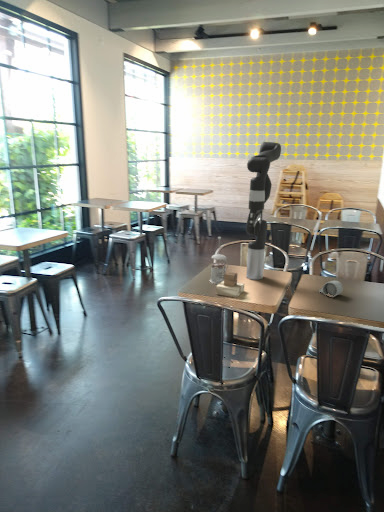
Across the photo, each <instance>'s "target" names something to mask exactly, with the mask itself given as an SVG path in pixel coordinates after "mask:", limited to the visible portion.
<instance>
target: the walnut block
mask: <svg viewBox="0 0 384 512" xmlns="http://www.w3.org/2000/svg"><path fill="white" fill-rule="evenodd" d="M237 282H238V273H237V272H235V271H228V270H227V272H226V271H225V274H224V286H230V287H234V286H235V285H237Z"/></svg>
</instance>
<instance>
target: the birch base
mask: <svg viewBox="0 0 384 512" xmlns="http://www.w3.org/2000/svg"><path fill="white" fill-rule="evenodd" d="M244 292H245V283H242V282H238V281H237V285H235V286H234V287H230V286H224V281H222V282H221V283H220V284H216V285H215V295H219V296H225V297H229V298H230V297H231V298H238V297H239V296H240V295H241V294H243V293H244Z"/></svg>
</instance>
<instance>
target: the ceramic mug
mask: <svg viewBox="0 0 384 512" xmlns="http://www.w3.org/2000/svg"><path fill="white" fill-rule="evenodd" d="M343 289H344V287H343V284H342V282H340V280H339V281H338V280H330V281H328V282H326V283H324V284H323V285H322V288H320V289H318V291H319V293H320V292H321V293H320V294H322V293H323V294H324V296H326V294H328V293H329V294H330V295H333V297H332V298H334V297H336V296H338V295H340V294H342V292H343ZM334 295H335V296H334Z"/></svg>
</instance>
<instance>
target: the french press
mask: <svg viewBox="0 0 384 512" xmlns="http://www.w3.org/2000/svg"><path fill="white" fill-rule="evenodd" d="M217 239H218V242H219V243H218V246H220V243H221V242H220V241H221V239H222V237H221V236H218V237H217ZM211 259H212V260H216V261H217V262H212V264H211V266H210V279H209V280H208V282H209V281H210V282H211V283H210V282H209V283H210V284H213V283H214V284H215V285H218V284H220V283H221V282H222V281H224V274H225V273H226V271H228V270H227V269H228V267H229V264H227V263H229V261H228V259H227V256H225V255H224V254H220V253H215V254H213V255H212V256H211ZM220 261H223V262H220ZM224 262H225V263H224ZM226 265H227V267H226ZM214 284H213V285H214Z"/></svg>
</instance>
